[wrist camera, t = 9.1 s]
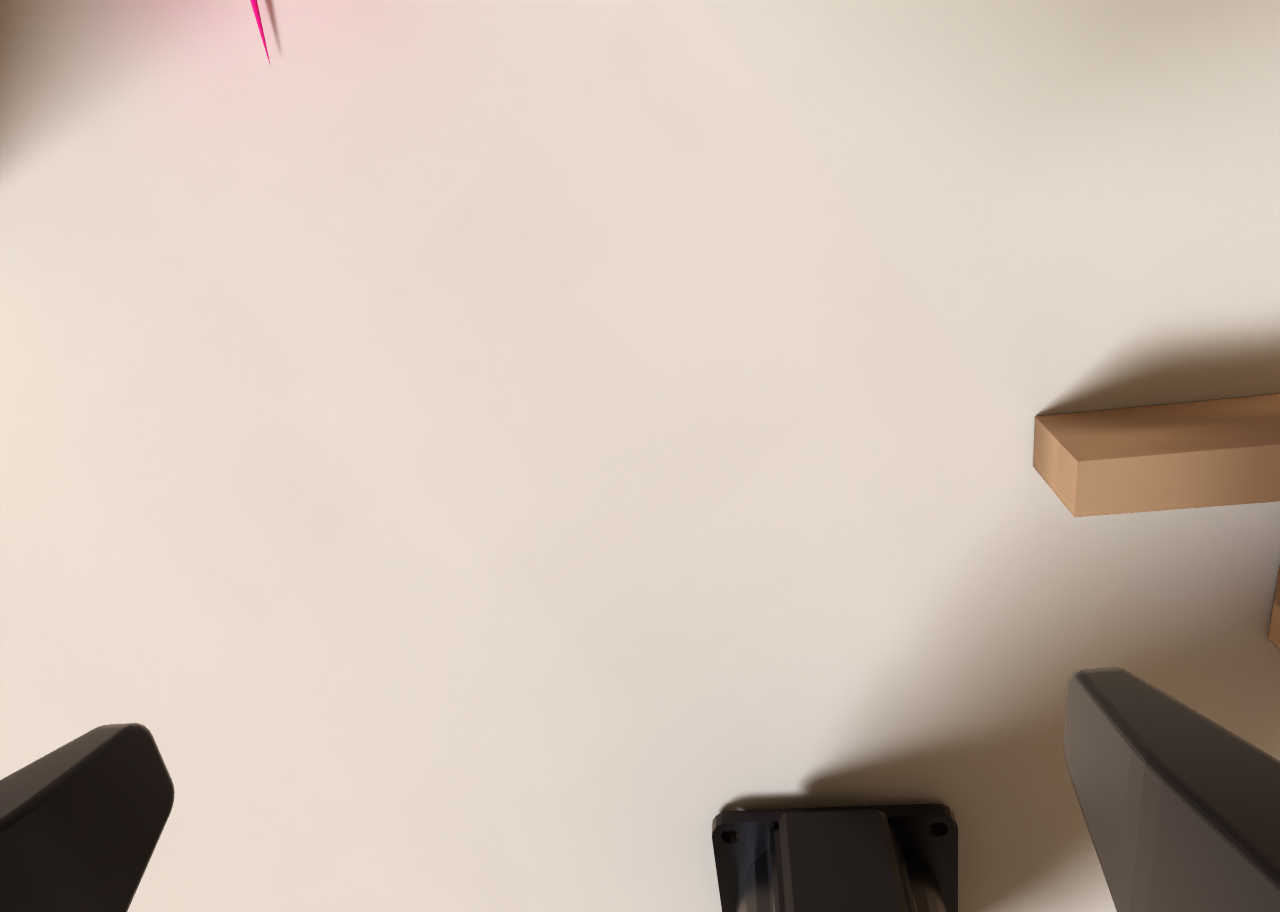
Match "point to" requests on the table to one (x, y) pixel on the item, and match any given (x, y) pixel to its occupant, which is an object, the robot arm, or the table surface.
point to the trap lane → (1164, 459)
